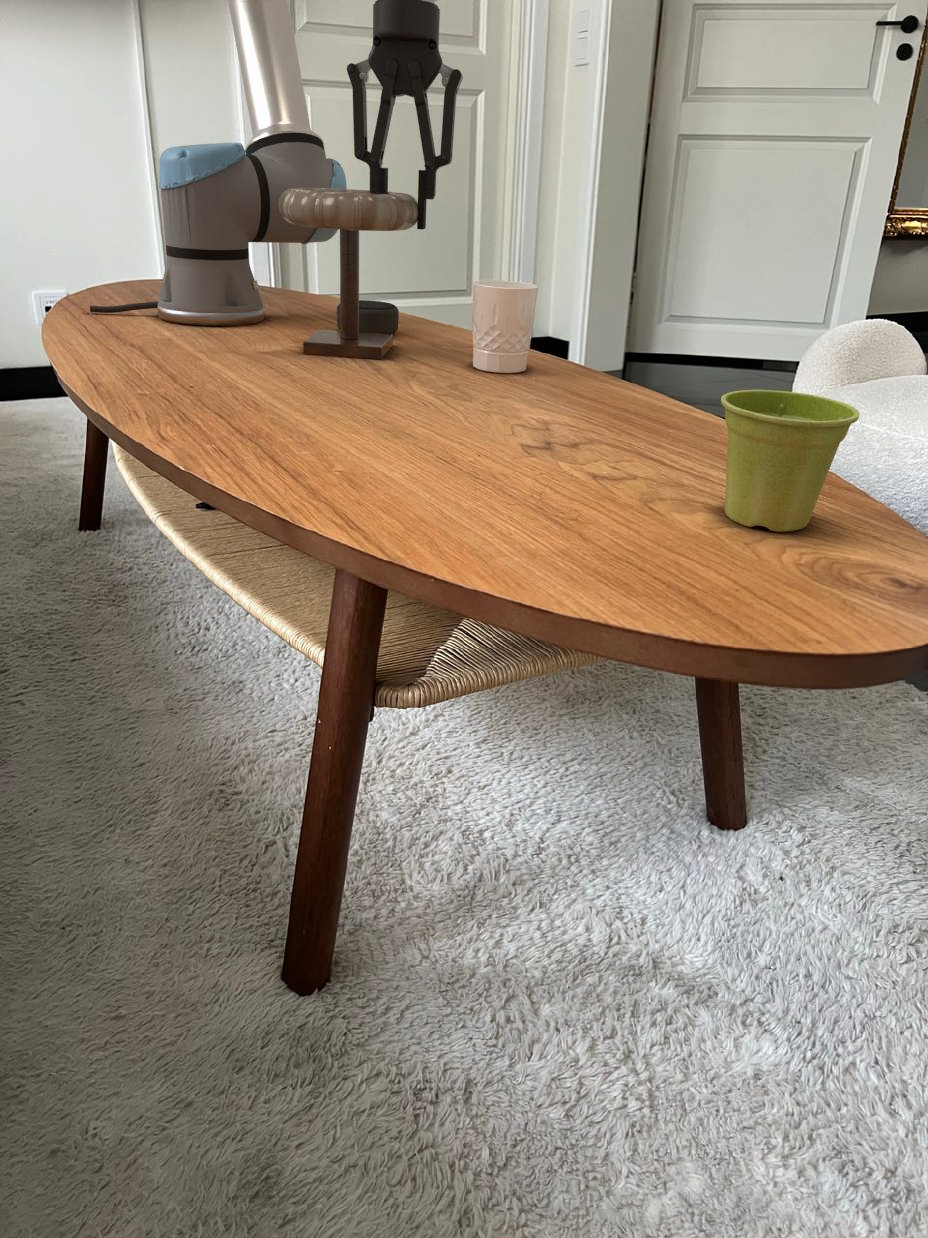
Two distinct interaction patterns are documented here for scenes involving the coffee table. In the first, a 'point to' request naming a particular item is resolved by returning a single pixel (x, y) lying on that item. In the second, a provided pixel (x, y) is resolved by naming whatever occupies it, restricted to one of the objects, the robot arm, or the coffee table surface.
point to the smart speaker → (375, 317)
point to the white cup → (502, 324)
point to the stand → (349, 313)
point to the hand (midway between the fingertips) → (401, 226)
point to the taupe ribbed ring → (348, 209)
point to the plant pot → (780, 454)
